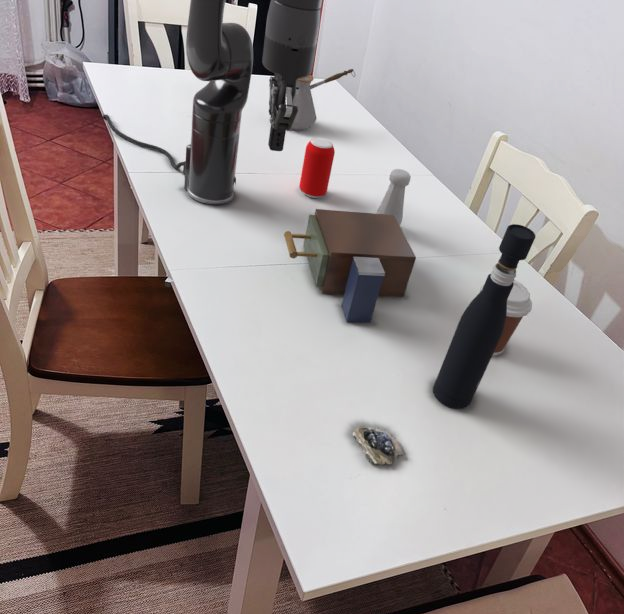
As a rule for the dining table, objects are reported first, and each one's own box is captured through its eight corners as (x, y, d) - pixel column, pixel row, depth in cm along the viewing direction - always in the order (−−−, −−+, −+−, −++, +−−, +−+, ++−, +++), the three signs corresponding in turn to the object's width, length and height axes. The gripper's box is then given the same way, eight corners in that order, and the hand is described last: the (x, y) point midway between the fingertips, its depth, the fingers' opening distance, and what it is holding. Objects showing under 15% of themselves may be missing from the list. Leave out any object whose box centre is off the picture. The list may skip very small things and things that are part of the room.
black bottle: (429, 378, 106) (492, 215, 87) (466, 382, 107) (537, 222, 89) (436, 407, 101) (504, 240, 83) (475, 411, 103) (551, 248, 84)
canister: (340, 306, 116) (353, 256, 110) (364, 306, 118) (378, 257, 111) (346, 322, 113) (359, 271, 107) (370, 322, 115) (385, 273, 108)
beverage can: (320, 203, 144) (330, 151, 137) (294, 193, 145) (302, 141, 137) (329, 192, 149) (340, 142, 141) (304, 183, 150) (313, 133, 142)
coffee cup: (459, 323, 120) (480, 268, 113) (506, 332, 121) (531, 279, 113) (463, 355, 113) (487, 299, 106) (514, 364, 114) (541, 310, 106)
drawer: (288, 286, 116) (294, 253, 112) (278, 244, 126) (283, 212, 122) (392, 290, 122) (401, 259, 118) (374, 249, 132) (382, 219, 127)
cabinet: (321, 293, 118) (331, 252, 113) (307, 248, 129) (315, 208, 123) (403, 296, 123) (416, 257, 117) (383, 252, 134) (394, 214, 128)
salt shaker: (396, 237, 140) (413, 181, 131) (371, 229, 140) (385, 173, 132) (401, 225, 144) (417, 170, 136) (375, 217, 144) (390, 162, 136)
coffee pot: (282, 134, 168) (291, 74, 159) (264, 115, 175) (272, 57, 166) (353, 133, 178) (366, 77, 169) (334, 115, 185) (344, 61, 176)
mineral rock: (380, 475, 89) (384, 466, 88) (338, 439, 92) (341, 430, 91) (410, 451, 93) (414, 442, 92) (369, 418, 97) (372, 409, 95)
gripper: (260, 18, 99) (247, 129, 110) (271, 47, 89) (256, 165, 100) (308, 26, 101) (291, 134, 112) (325, 55, 91) (304, 170, 102)
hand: (275, 148), depth 106 cm, fingers closed
